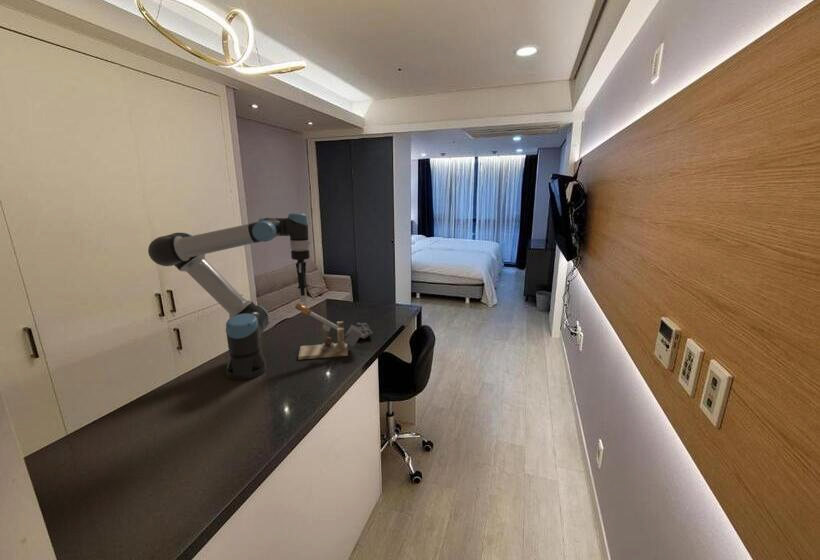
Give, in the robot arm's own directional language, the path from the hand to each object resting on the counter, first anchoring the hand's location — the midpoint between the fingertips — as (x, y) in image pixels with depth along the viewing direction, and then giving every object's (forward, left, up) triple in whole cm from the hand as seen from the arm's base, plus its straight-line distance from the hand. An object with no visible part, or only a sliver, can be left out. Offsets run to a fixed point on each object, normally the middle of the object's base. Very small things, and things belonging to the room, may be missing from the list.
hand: (303, 301), depth 153 cm
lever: (+8, 0, -14) cm, 16 cm away
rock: (+27, +16, -26) cm, 40 cm away
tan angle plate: (+8, 0, -25) cm, 27 cm away
